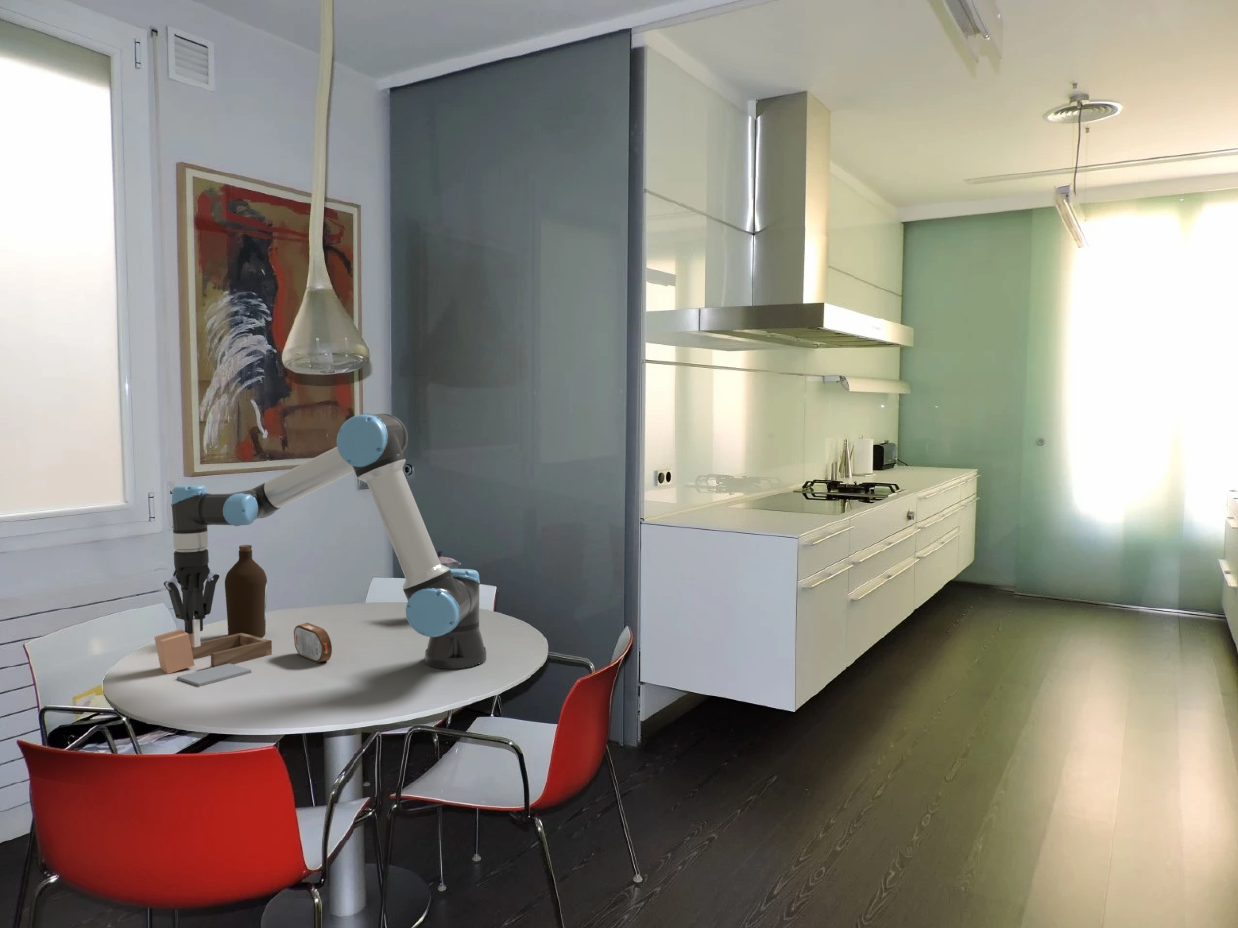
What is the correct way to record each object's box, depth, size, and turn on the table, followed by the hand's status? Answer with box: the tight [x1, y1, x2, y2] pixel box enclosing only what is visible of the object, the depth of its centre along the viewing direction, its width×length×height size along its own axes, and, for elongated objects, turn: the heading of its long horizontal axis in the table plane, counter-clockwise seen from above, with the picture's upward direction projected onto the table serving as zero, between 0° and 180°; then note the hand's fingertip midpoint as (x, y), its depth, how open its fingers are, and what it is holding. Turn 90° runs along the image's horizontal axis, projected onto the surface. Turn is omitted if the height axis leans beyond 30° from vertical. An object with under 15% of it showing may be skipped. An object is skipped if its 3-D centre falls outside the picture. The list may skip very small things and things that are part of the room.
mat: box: [176, 663, 252, 687], centre depth 207 cm, size 9×13×1 cm
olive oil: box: [224, 544, 268, 638], centre depth 241 cm, size 11×11×25 cm
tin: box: [293, 622, 333, 664], centre depth 221 cm, size 15×3×8 cm, turn 47°
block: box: [154, 628, 195, 675], centre depth 211 cm, size 6×6×8 cm
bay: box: [191, 633, 273, 668], centre depth 222 cm, size 13×16×4 cm
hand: (194, 645), depth 214 cm, fingers closed
